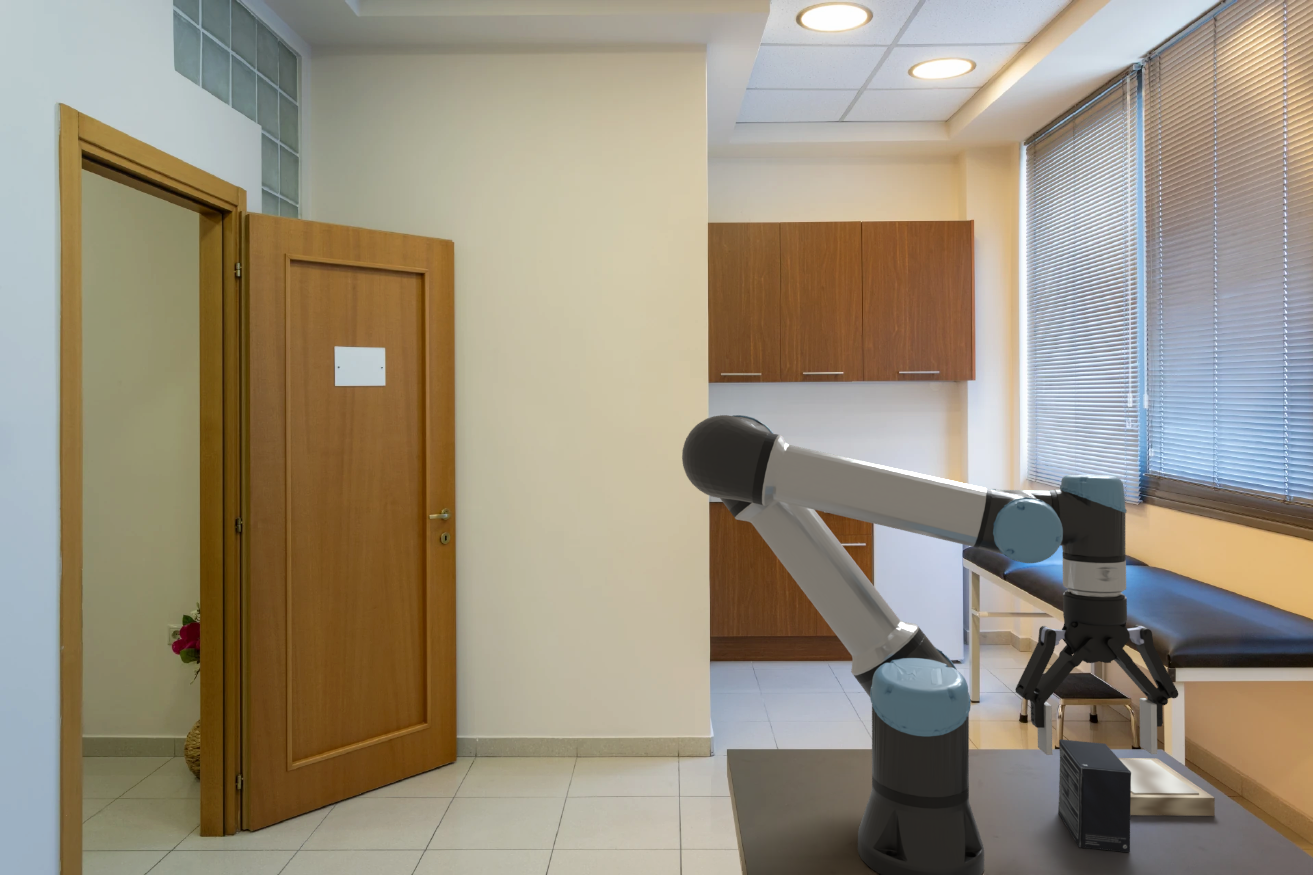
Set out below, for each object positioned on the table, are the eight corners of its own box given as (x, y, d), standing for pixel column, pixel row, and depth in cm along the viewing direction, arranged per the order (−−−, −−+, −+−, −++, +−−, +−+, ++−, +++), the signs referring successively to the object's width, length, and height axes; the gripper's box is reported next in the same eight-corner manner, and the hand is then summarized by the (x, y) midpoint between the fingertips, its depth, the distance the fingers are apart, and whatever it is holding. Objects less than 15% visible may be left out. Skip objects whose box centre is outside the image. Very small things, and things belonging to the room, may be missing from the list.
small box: (1134, 854, 106) (1134, 771, 106) (1078, 849, 107) (1078, 767, 107) (1107, 816, 116) (1107, 741, 116) (1056, 812, 118) (1056, 737, 118)
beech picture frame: (1126, 814, 117) (1126, 795, 117) (1078, 773, 131) (1078, 756, 131) (1214, 815, 116) (1214, 796, 116) (1156, 774, 130) (1156, 756, 130)
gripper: (1010, 597, 108) (1013, 762, 108) (1207, 595, 107) (1209, 760, 107) (989, 587, 116) (991, 740, 116) (1172, 584, 115) (1175, 739, 115)
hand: (1096, 750), depth 112 cm, fingers open, 13 cm apart
